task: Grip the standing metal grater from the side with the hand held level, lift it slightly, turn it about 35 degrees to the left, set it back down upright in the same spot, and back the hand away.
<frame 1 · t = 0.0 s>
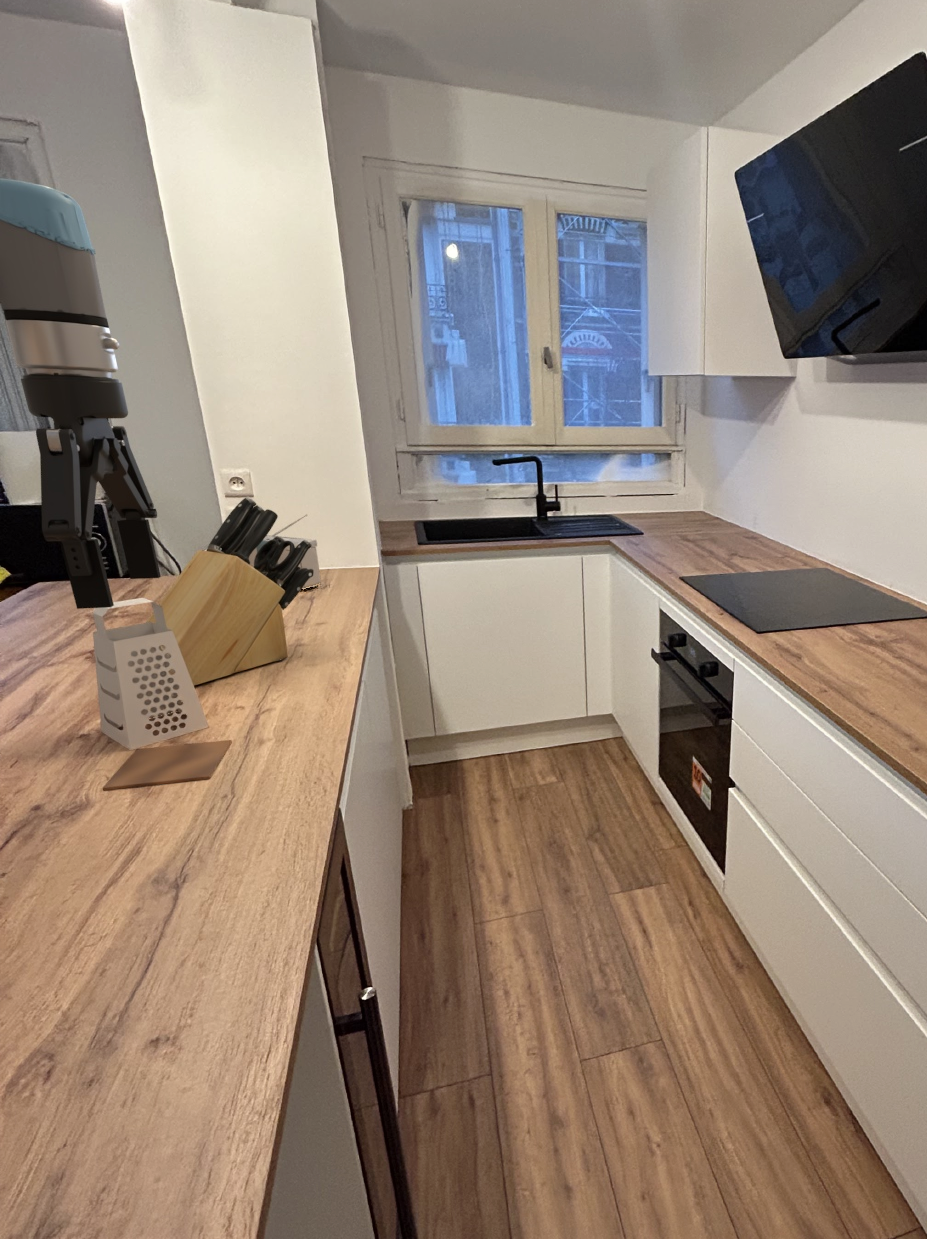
hand: (122, 591, 76), 29 cm above the table, tool pointing down, fingers open, 13 cm apart
grater: (156, 730, 112), on the table
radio: (285, 586, 202), on the table
knife block: (232, 667, 139), on the table
cork trivet: (172, 764, 101), on the table
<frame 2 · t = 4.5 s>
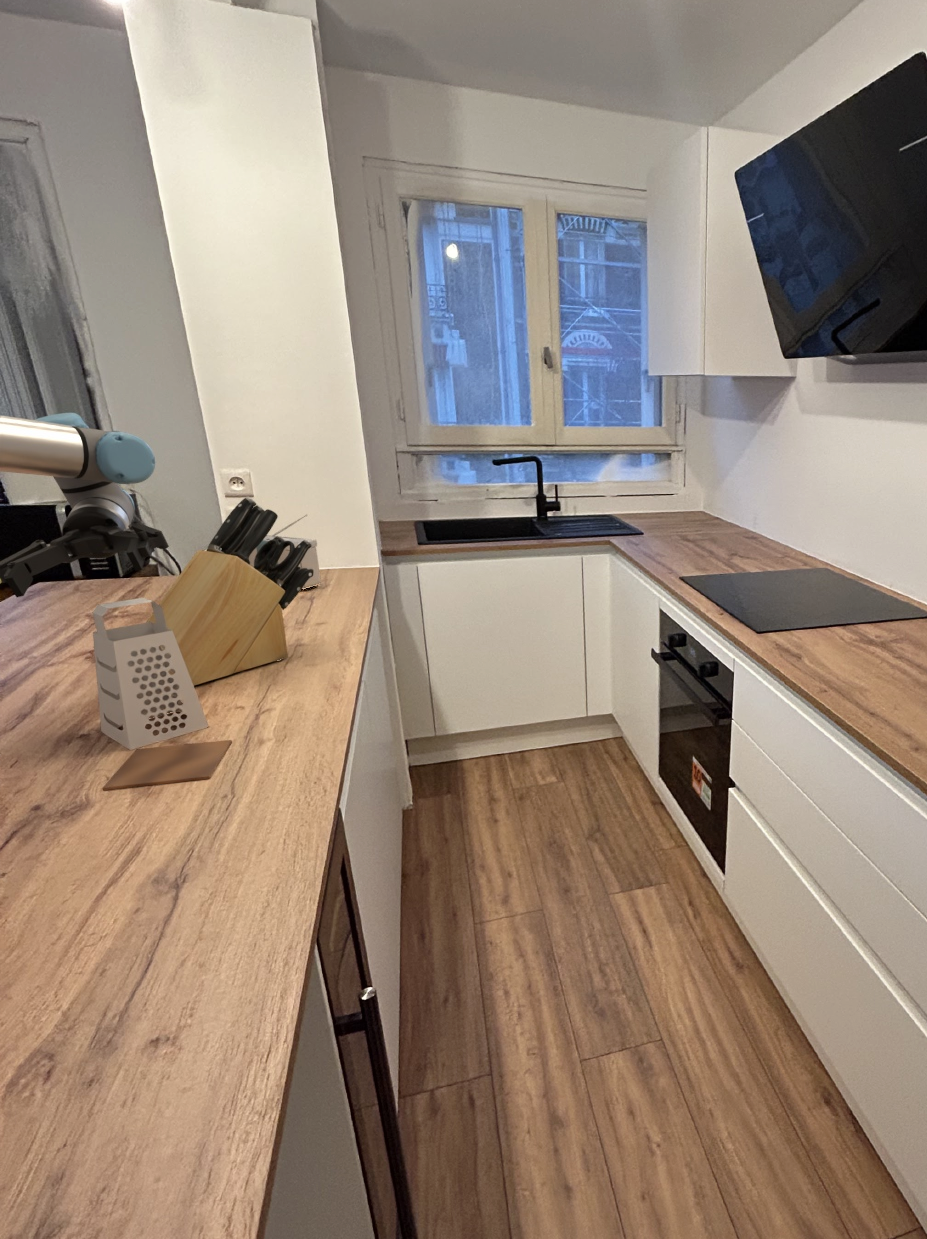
hand: (75, 574, 98), 25 cm above the table, tool horizontal, fingers open, 13 cm apart
nothing on the table moved.
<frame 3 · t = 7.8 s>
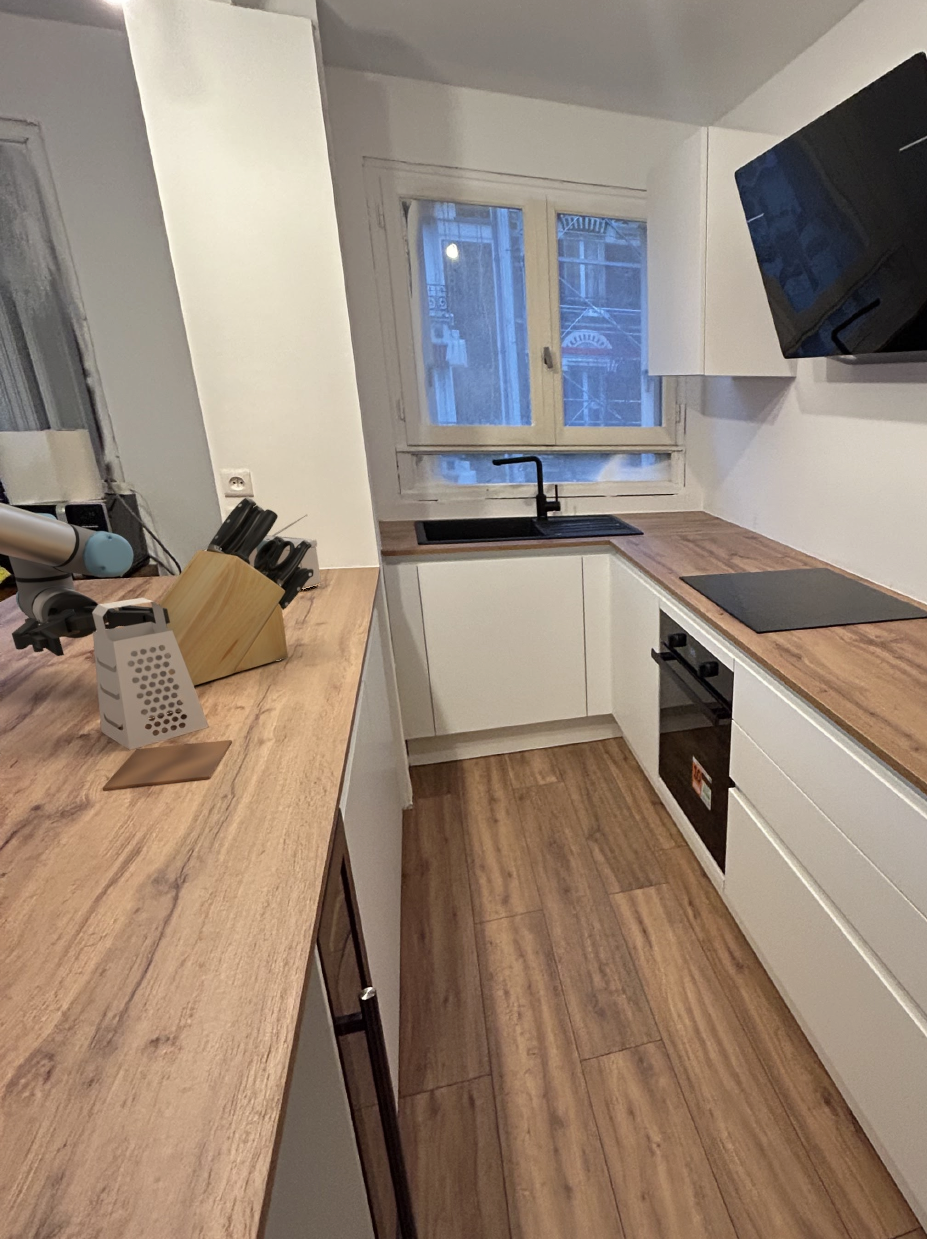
hand: (114, 636, 112), 13 cm above the table, tool horizontal, fingers open, 13 cm apart
nothing on the table moved.
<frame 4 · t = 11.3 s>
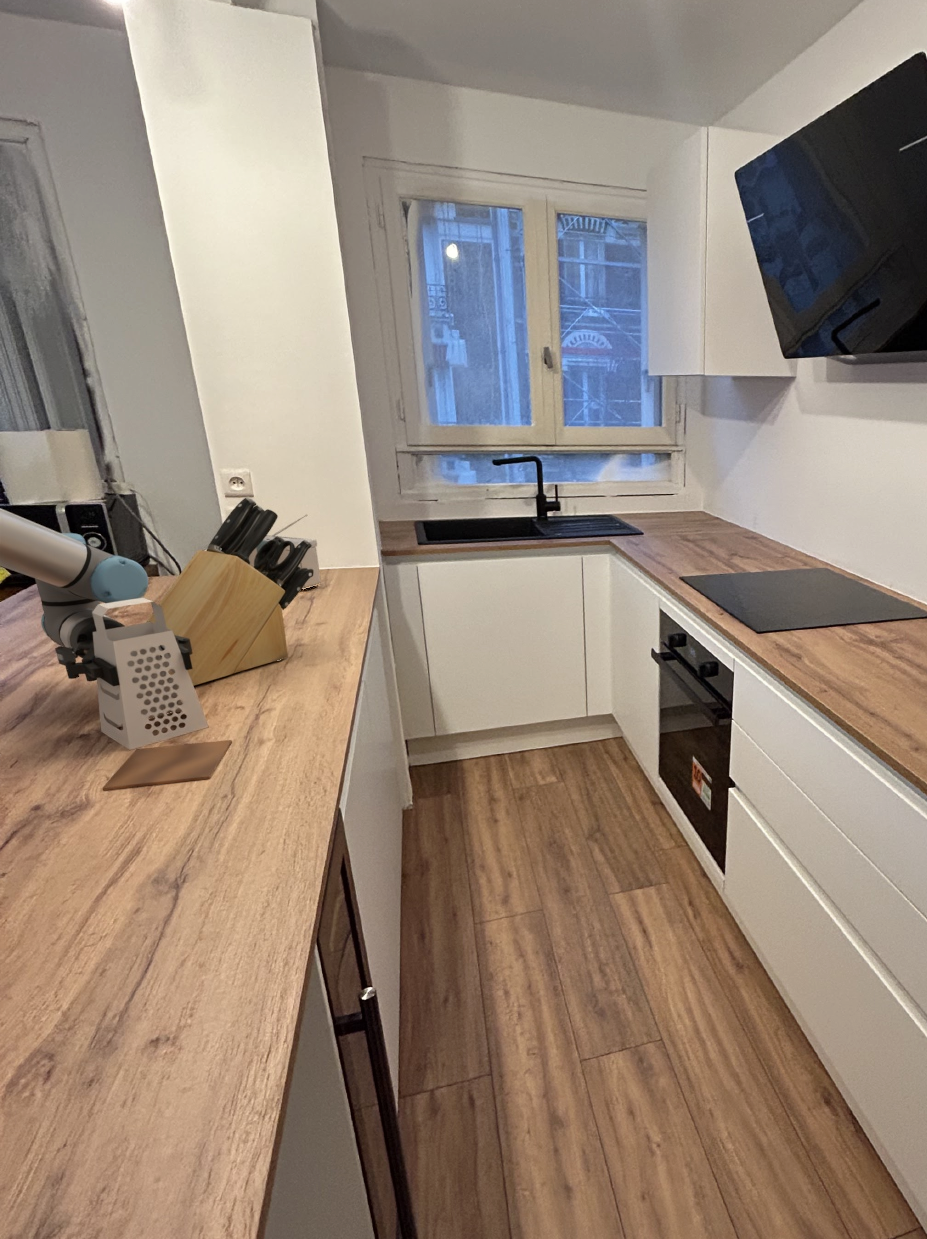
hand: (152, 668, 105), 11 cm above the table, tool horizontal, fingers closed on grater, 8 cm apart
grater: (156, 730, 112), on the table, touching gripper
everything else where it was.
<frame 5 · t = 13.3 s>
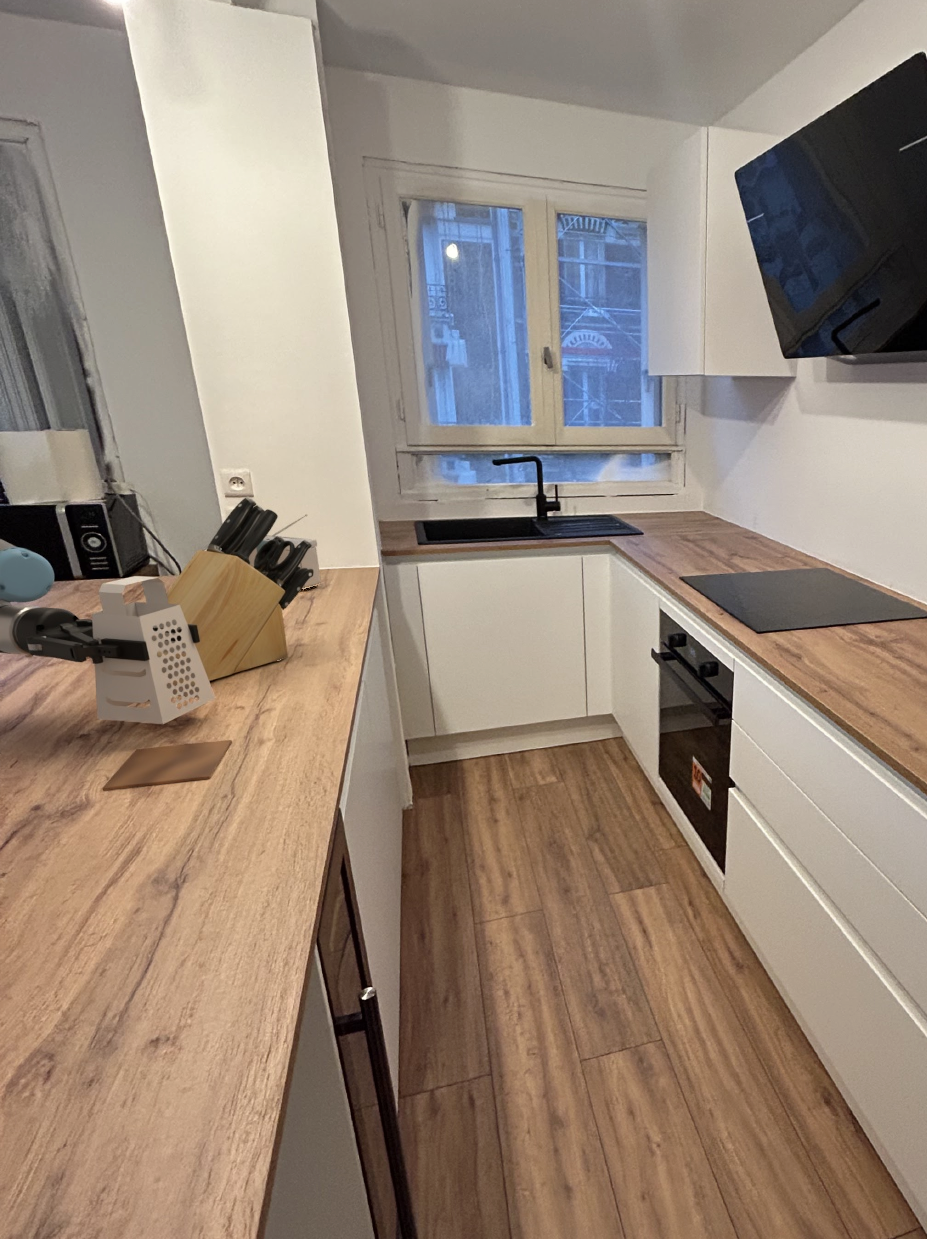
hand: (172, 642, 107), 14 cm above the table, tool horizontal, fingers closed on grater, 8 cm apart
grater: (159, 709, 111), point 3 cm above the table, touching gripper
everything else where it was.
when the fingers open (11 cm above the table, at t = 15.3 s): grater stays where it is, on the table.
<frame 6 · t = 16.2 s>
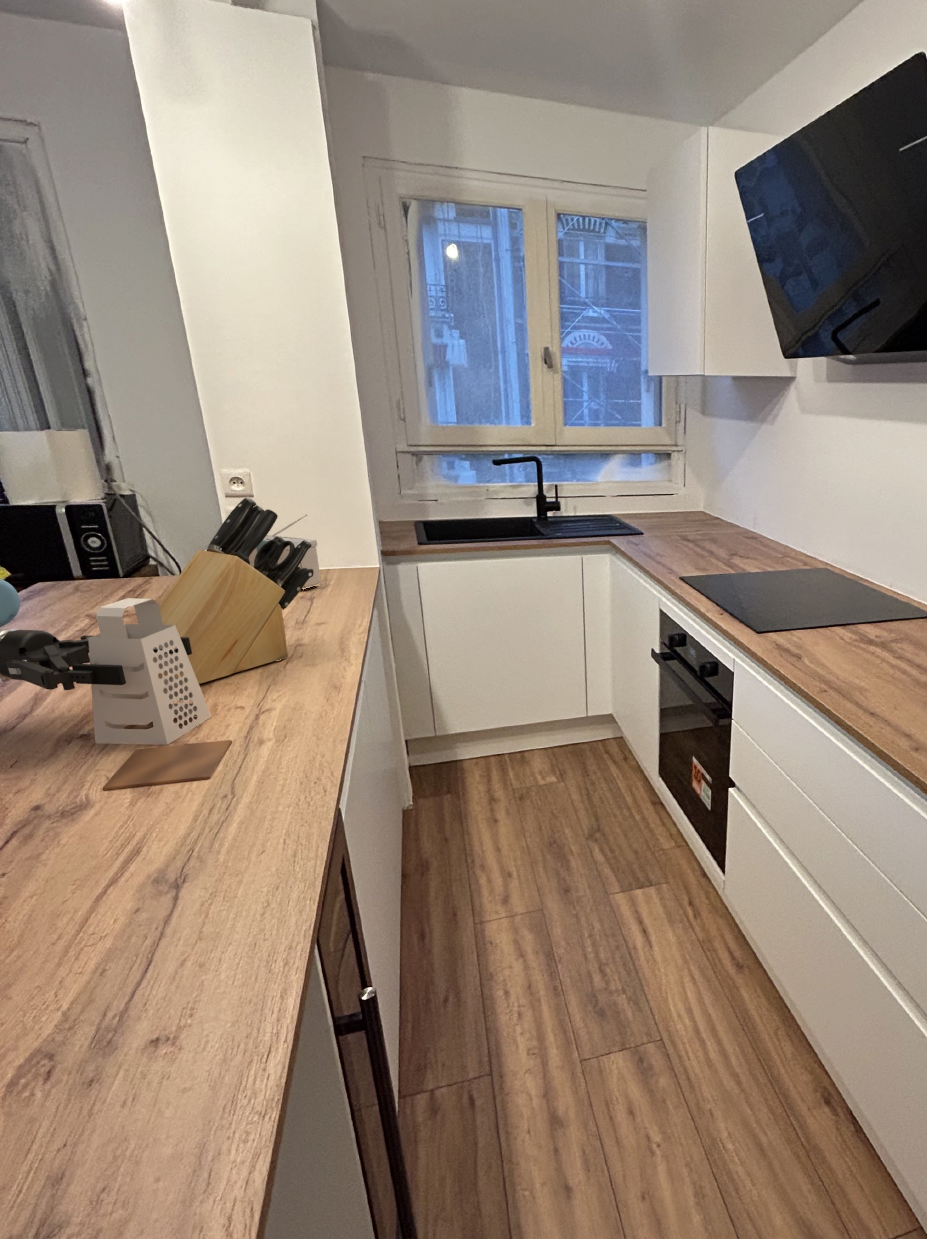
hand: (157, 659, 107), 11 cm above the table, tool horizontal, fingers open, 13 cm apart
grater: (156, 730, 112), on the table
everything else where it was.
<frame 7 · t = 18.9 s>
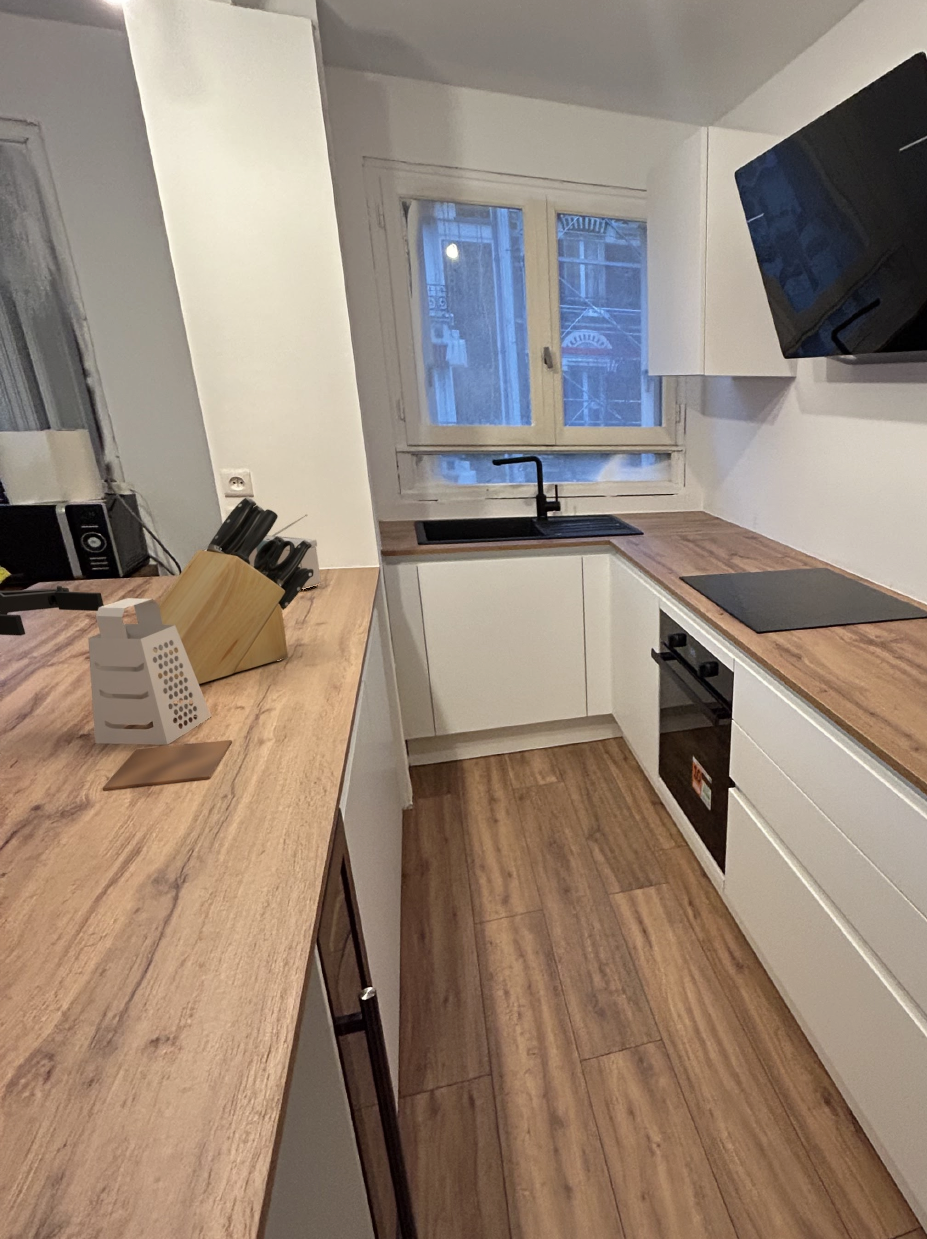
hand: (63, 612, 104), 19 cm above the table, tool horizontal, fingers open, 13 cm apart
nothing on the table moved.
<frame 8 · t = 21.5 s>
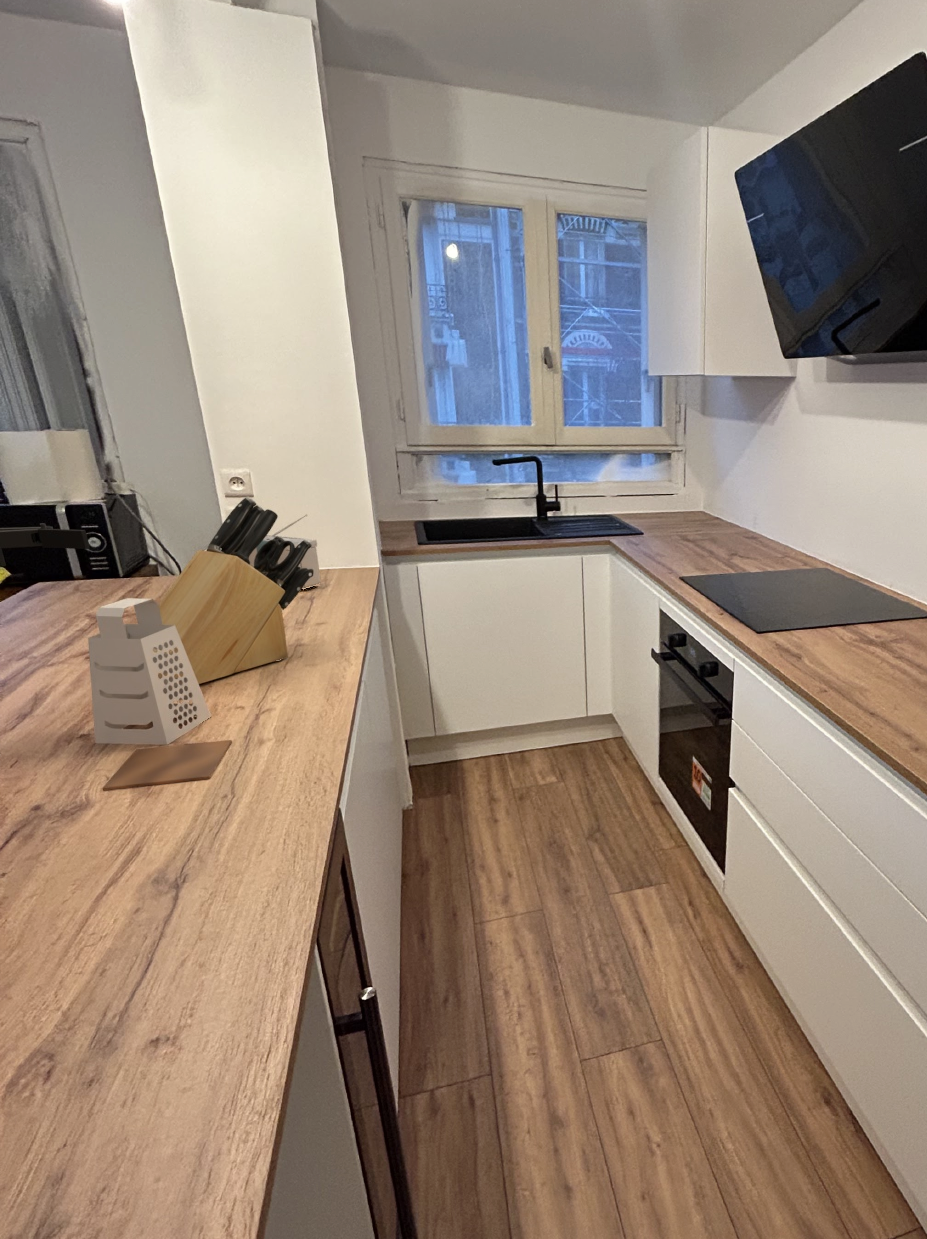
hand: (46, 547, 101), 28 cm above the table, tool horizontal, fingers open, 13 cm apart
nothing on the table moved.
at the end: grater tilted 0°; grater moved 0.2 cm from its start; the gripper is holding nothing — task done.
